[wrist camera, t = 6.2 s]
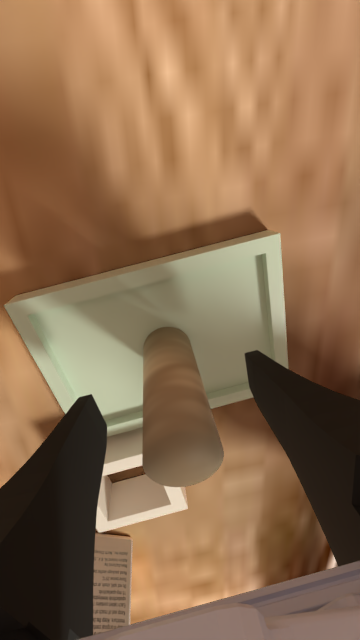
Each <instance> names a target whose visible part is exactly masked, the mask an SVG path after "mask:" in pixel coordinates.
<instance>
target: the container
mask: <svg viewBox="0 0 360 640" xmlns="http://www.w3.org/2000/svg"><path fill="white" fill-rule="evenodd" d="M131 574H132V538H131V537H128V536H119V535H111V534H102V533H95V551H94V582H93V635H95V634H99V633H102V632H106V631H110V630H113V629H117V628H120V627H124V626H127V625H130V607H131Z"/></svg>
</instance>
